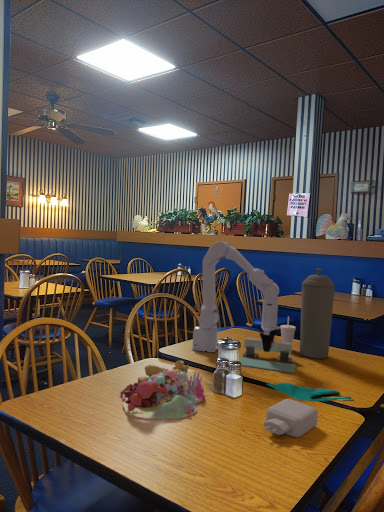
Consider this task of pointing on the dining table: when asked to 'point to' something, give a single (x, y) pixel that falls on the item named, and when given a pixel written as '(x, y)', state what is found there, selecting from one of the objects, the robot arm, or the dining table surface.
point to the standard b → (284, 357)
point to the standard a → (250, 353)
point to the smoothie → (287, 332)
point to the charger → (290, 418)
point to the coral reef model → (163, 394)
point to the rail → (275, 345)
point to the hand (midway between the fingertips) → (267, 349)
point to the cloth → (305, 392)
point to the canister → (316, 315)
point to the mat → (267, 365)
